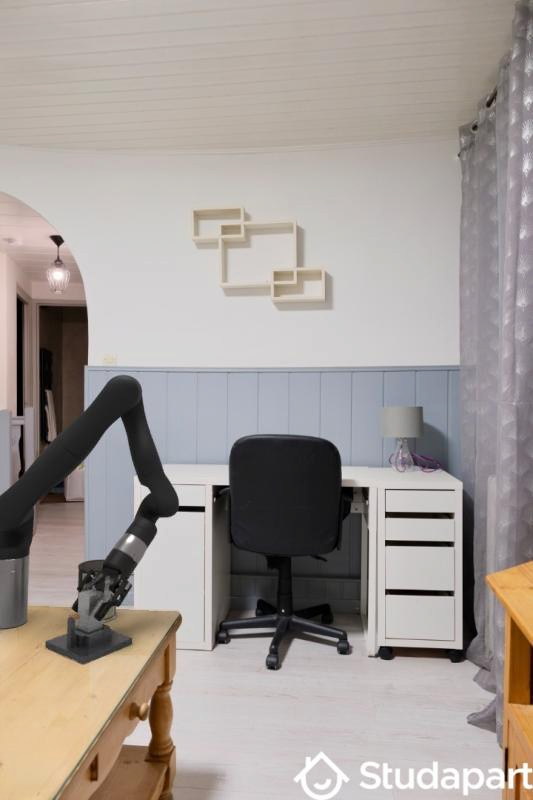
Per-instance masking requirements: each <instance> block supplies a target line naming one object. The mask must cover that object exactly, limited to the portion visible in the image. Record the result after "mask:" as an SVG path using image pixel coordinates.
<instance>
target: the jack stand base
mask: <svg viewBox="0 0 533 800" xmlns="http://www.w3.org/2000/svg"><path fill="white" fill-rule="evenodd" d="M77 619H80V615H79V614H77V613H76V612H75V613H73V614H69V615H68V617H67V627H66V632H67V633H66V634H62V635H58V636H57V637H54V638H51V639H47V640H45V645H44V648H45V647H46V648H45V649H47V648H48V650H50V651H51V652H52V651H53V652H54V653H56V654H59V655H61V656H63V657H65V656H66V658H67V657H68V658H67V659H69V660H72V659H73V660H72V661H74V660H75V662H76V661H77V662H76V663H79V664H81V665H85V664H87V662H88V663H90V662H92V660H93V661H95V660H97V659H100V658H103V657H104V656H107V655H109V654H112V653H114V651H115V652H116V651H120V650H121V649H122V650H123V649H124V648H126V647H129V646H131V644H132V645H133V637H131V636H129V635H126V634H123V633H120V632H119V631H118V632H117V631H115V630H113V629H112V628H111V626H109V625H108V624H105V623H102V629H101V630H99V631H96V632H93V633H90V634H85V633H83V632H80V631H78V630H77V627H78V624H76V621H78V620H77Z"/></svg>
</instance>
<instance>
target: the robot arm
mask: <svg viewBox="0 0 533 800" xmlns="http://www.w3.org/2000/svg"><path fill="white" fill-rule="evenodd" d="M119 419H121V422H122V424H123V427H124V431H125V434H126V438H127V443H128V448H129V453H130V457H131V462H132V465H133V468H134V471H135V473H136V476H137V479H138V480H137V481H138V482H139V483H140V485H141V486H143V487H146V488H147V489H148V490H149V491H150V492H149V493H148V494H147V495H146V496H145V497H143V499H142V501H141V502H140V504H139V506H138V508H137V511H136V513H135V516H134V517H133V518H134V519H133V521H132V522H131V524H130V525H129V526H128V528H127V529H126V531H124V533H123V535H122V536H121V537H120V538H119V539H118V540H117V541H116V543H115V544H114V546H113V548H111V550H110V552H109V553H108V554H107V556H106V557H105V558H104V559H103V560H104V561H103V568H102V570H101V571H100V572H98V573H97V572H95V571H94V570H93V569H91V570H90V571H89V572H88V574H87V575H86V576H85V578H84V579H83V580H82V582H81V583H80V584H79V586H78V585H77V587H76V590H77V592H78V591H79V593H80V592H84V591H87V590H91V589H95V590H98V591H101V592H103V593H104V594H105V600H104V602H105V603H104V602H102V604H101V605H100V607H99V608H98V610H97V611H96V613H95V614H94V618H95V619H96V620H98V621H101V620H102V619H103V618H104V617H105V615H106V614H107V612H108V611H109V609H110V608H112V607H113V606H116V608H119V607H121V605H122V604H123V603H124V600H125V599H126V597H127V595H128V594H129V592H130V590H131V589H132V587H133V584H132V583H131V582H130V581H129V579H130V577H131V576H132V574H133V573H134V571H135V570H136V568H137V566H138V565H139V563H140V562H141V561H142V559H143V557H144V556H145V554H146V551H147V550H148V548H149V547H150V545H151V543H152V542H153V541H154V539H155V537H156V536H157V533H158V528H157V525H156V523H157V522H158V521H159V519H162V518H163V519H164V518H165V519H166V518H171V517H173V516H175V515H176V514H177V512H178V510H179V507H180V499H179V496H178V493H177V490H176V489H175V487H174V486H173V484H172V483H171V481H170V479H169V478H168V476H167V475H166V473H165V470H164V467H163V464H162V460H161V457H160V455H159V452H158V449H157V447H156V444H155V441H154V438H153V435H152V433H151V430H150V427H149V423H148V419H147V416H146V411H145V405H144V398H143V388H142V385H141V383H140V382H139V381H138V380H137V379H136V378H135V377H134V376H131V375H127V374H120V375H119V374H118V375H115V376H113V377H111V378H110V379H109V380H108V381H107V382H106V384H105V385H104V386H103V388H102V389H101V391H100V392H98V395H97V396H96V397H95V398H94V400H93V401H92V402H91V404H89V406H88V407H87V408H86V409H85V410H84V411H83V412H82V413H80V415H79V416H77V417H76V418H75V419H74V420H72V421H71V422H70V423H69V424H68V425H67V426H66V427H65V428H64V429H62V431H60V432H59V434H58V435H57V436H56V437H55V438H54V439H53V440H52V441H51V442H50V443H49V444H48V445H47V446H46V447H45V448H44V450H43V451H41V453H40V454H39V455H38V456H37V458H36V459H35V460H34V461H33V462H32V464H31V465H30V466H29V467H28V468H27V470H26V471H25V472H24V473H23V474H22V475H21V476H20V477H19V479H18V480H16V481H15V482H14V483H13V484H12V485H11V486H9V488H8V489H5V491H4V492H2V493H1V494H0V630H1V629H11V628H16V627H19V626H22V625H23V624H25V623H27V621H28V610H29V609H28V606H29V583H30V582H29V580H30V578H29V577H30V575H29V574H30V554H31V553H30V552H31V551H30V550H31V547H32V546H31V545H32V542H33V537H34V524H35V505H36V504H37V503H38V502H39V501H40V500H42V499H41V498H42V497H44V496H45V495H46V494H47V493H49V492H50V491H52V489H53V488H55V487H56V486H57V485H59V484H60V483H61V482H63V481H64V480H65V479H66V478H67V477H69V476H70V475H71V474H72V473H74V471H75V470H77V468H78V467H79V466H80V465H81V464H82V463H83V462H84V461H85V460H86V459H87V457H88V456H89V455H90V454H91V452H92V451H93V450H94V448H95V447H96V446H97V445H98V443H99V442H100V440H101V439H102V438H103V436H104V434H105V433H106V431H107V430H109V428H110V427H111V426H112V425H113V424H114V423H115V422H116V421H118V420H119ZM85 584H86V587H85V588H83V587H84V585H85ZM94 585H95V588H94V587H93V586H94ZM71 610H72V611H73V612H75V613H76V614H77V613H78V597H77V598H76V599H75V601H74V602H73V604H72V605H71Z"/></svg>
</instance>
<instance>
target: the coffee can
mask: <svg viewBox="0 0 533 800" xmlns="http://www.w3.org/2000/svg"><path fill="white" fill-rule="evenodd" d="M104 560H105V559H90V560H86V561H82V562H81V563H79V564H78V565H77V570H78V576H77V577H78V579H77V587H78V586H79V584H80V583H81V582H82V580H83V579H84V578H85V576H86V575H87V574H88V572H89V571H90V570H91V569H93V570H94V571H95V572H97V573H98V572H100V571H101V570H102V568H103V561H104ZM85 587H86V584H85V585H84V587H83V588H85ZM93 587H94V588H95V585H94V586H93ZM78 597H79V591H78V590H77V598H78ZM104 600H105V594H104V593H103V602H104ZM104 603H105V602H104ZM76 614H78V613H76ZM116 617H117V606H113V607H112V608H110V609H109V611H108V612H107V614H106V615H105V617H104V618H103V621H102V624H105V623H108V622H110V621H113V620H114V619H115V618H116ZM76 621H78V619H77V620H76Z"/></svg>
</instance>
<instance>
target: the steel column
mask: <svg viewBox="0 0 533 800" xmlns="http://www.w3.org/2000/svg"><path fill="white" fill-rule="evenodd" d="M77 598H78V614H79V615H80V619H78V620H77V625H78V627H77V630H78V631H80V632H83V633H85V634H90V633H93V632H96V631H99V630H101V629H102V624H103V623H102V621H103V619H102V620H101V621H98V620H96V619H95V618H94V614H95V613H96V611H97V610H98V608H99V607H100V605H101V604H102V602H103V592H101V591H98V590H95V589H91V590H87V591H84V592H80V593H79V597H78V596H77Z"/></svg>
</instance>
